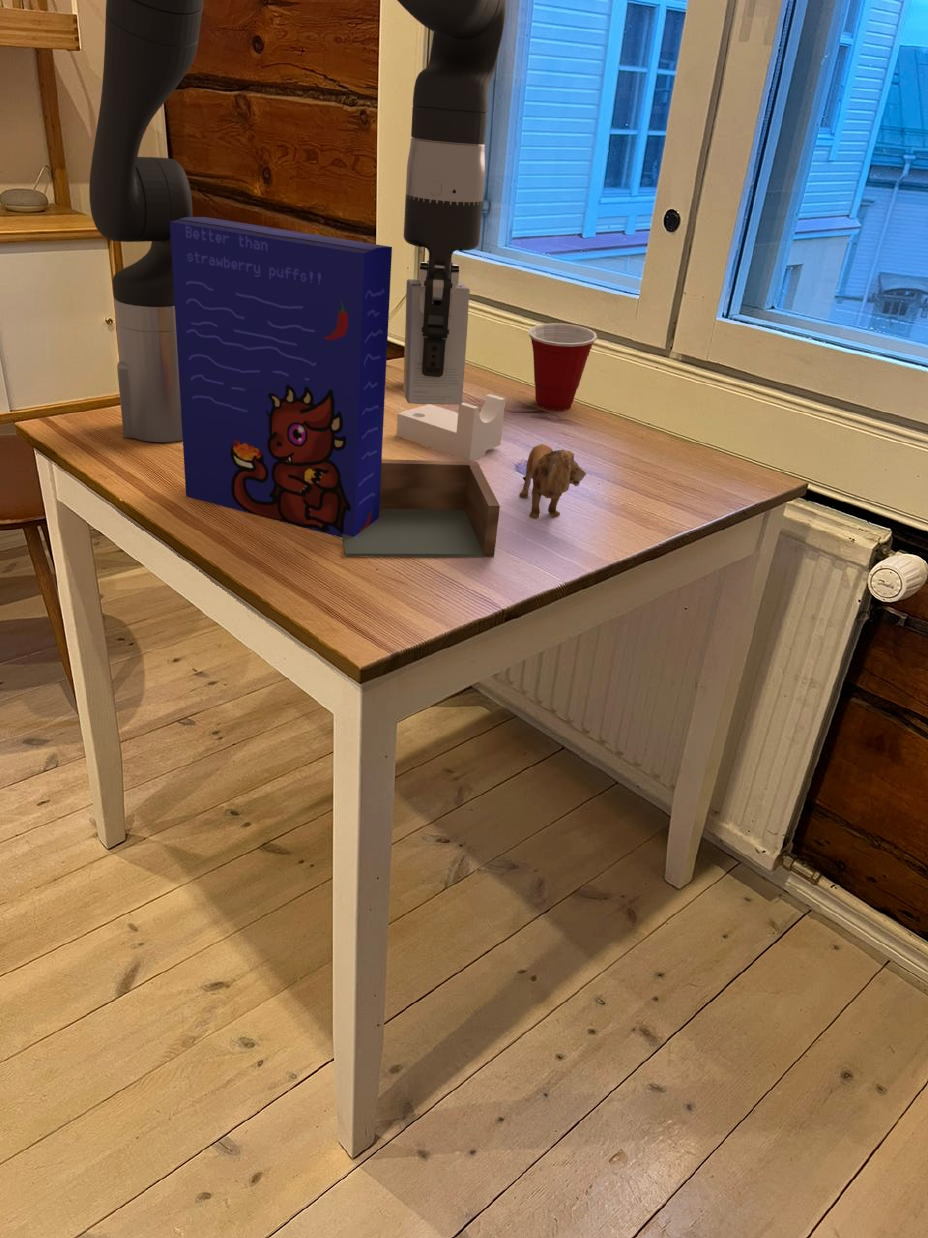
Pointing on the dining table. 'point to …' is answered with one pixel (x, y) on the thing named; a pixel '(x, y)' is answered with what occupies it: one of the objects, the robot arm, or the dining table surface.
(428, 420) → the bracket
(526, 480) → the lion figurine
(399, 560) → the dining table surface
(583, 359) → the plastic cup
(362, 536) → the felt mat
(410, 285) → the skincare box
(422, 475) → the corner walls
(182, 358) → the cereal box
